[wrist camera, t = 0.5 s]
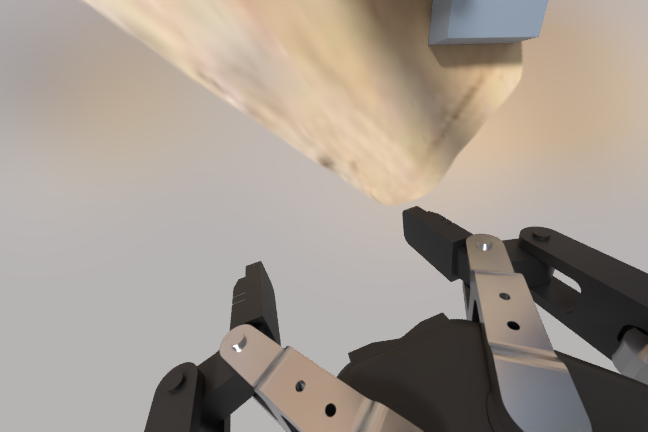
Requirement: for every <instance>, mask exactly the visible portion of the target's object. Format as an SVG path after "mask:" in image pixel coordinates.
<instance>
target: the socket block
mask: <svg viewBox="0 0 648 432" xmlns="http://www.w3.org/2000/svg"><path fill="white" fill-rule="evenodd" d="M547 3H548V0H433V2H432V12H431V22H430V31H429V41H428V45H450V44H494V43H515V42H519V41H523V40H527V39H531V38H536V37H539V33H540V30H541V26H542V22H543V18H544V14H545V11H546V7H547Z"/></svg>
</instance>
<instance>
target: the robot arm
mask: <svg viewBox="0 0 648 432" xmlns="http://www.w3.org/2000/svg"><path fill="white" fill-rule="evenodd" d="M403 228H404V236H405V239H406V241H407V242H408V244H409V245H410V246H411V247H413V248H414V249H415V250H416V251H417V252H418V253H419V254H421V255H422V256H423V257H424V258H425V259H426V260H427V261H428V262H429V263H430V264H432V265H433V266H434V267H435V268H436V269H437V270H438V271H439V272H440V273H442V274H443V275H444V276H445V277H446V278H447V279H448V280H449V281H450V282H452V281H455V280H457V279H461V280H463V293H464V301H465V309H466V317H467V320H463V319H450V320H449V319H448V318H447V317H446V316H445V315H444V313H440V314H438V315H436V316H433V317H431V318H429V319H426V320H424V321H422V322H420V323H419V324H418V325H416V326H415V327H414V328H413V329H411V330H410V331H409V332H408V333H407V334H405V335H404V336H403V337H402V338H400V339H394V340H387V341H381V342H374V343H371V344H368V345H366V346H364V347H361V348H359V349H357V350H354V351H352V352H350V353H348V355H349V358H350V361H351V362H350V363H349V364H347V365H346V366H345V367H344V368H343V369H342V371H341V372H340V373H339V374H338V376H337V377H335V376H334V375H332V374H331V373H329V372H328V371H326V370H325V369H323V368H322V367H320V366H319V365H317V364H316V363H314V362H313V361H311V360H310V359H309V358H307V357H305V356H304V355H303V354H301V353H300V352H298V351H296V350H295V349H294V348H292V347H290V346H287V347H286V348H282V347H281V343H280V334H279V327H278V318H277V310H276V302H275V295H274V290H273V286H272V284H271V281H270V279H269V277H268V275H267V273H266V271H265V268H264V266H263V264H262V262H261V261H259V262H256V263H253V264H251V265H248V266H246V277H244V278H241V279H239V280H238V281H237V283H236V285H235V287H234V290H233V301H232V302H233V303H232V304H233V305H232V313H231V323H230V332H229V333H227V335H226V336H225V337H224V338H223V340H222V342H221V344H220V349H219V351H218V352H216V354H214V355H213V356H211V357H210V358H208V359H207V360H206V361H204V362H203V363H201V364H200V365H198V366H196V365H195V364H194V363H191V362H186V363H183V364H180V365H178V366H176V367H175V368H173V369H172V370H171V371H170V372H169V373H168V374H167V375H166V376H165V377H164V378H163V379H162V380H161V382H160V383H159V385H158V387H157V389H156V391H155V394H154V398H153V402H152V405H151V409H150V412H149V416H148V420H147V423H146V427H145V431H144V432H230V414H231V413H233V412H234V411H235V410H236V409H237V408H239V407H240V406H241V405H242V404H243V403H245V402H246V401H247V400H248V399H249V398H251V397H253V398H254V399H255V400H256V401H257V402H258V403H259V404H260V405H261V406H262V407H263V408H264V409H265V410H266V411H267V412H268V413H269V414H270V415H271V416H272V417H273V418H274V419H275V420H276V421H277V422H278V423H279V424H280V425H281V427H283V429H284V430H285V431H286V432H648V274H647V273H645V272H643V271H641V270H639V269H636V268H635V267H632V266H630V265H628V264H626V263H624V262H621V261H619V260H617V259H615V258H613V257H611V256H609V255H606V254H604V253H602V252H600V251H598V250H596V249H593V248H591V247H589V246H587V245H585V244H583V243H580V242H578V241H576V240H573V239H572V238H570V237H567V236H565V235H563V234H561V233H559V232H557V231H554V230H552V229H548V228H544V227H528V228H524V229H522V230H521V232H520V235H519V239H512V240H504V241H501V240H500V239H498V238H497V237H495V236H492V235H487V234H475V235H473V234H471V233H469V232H468V231H466V230H465V229H463V228H461V227H459V226H458V225H456V224H455V223H452V222H451V221H450V220H448V219H446V218H445V217H443V216H441V215H439V214H437V213H433V212H430V211H428V212H426V211H425V210H423V209H421V208H420V207H418V206H415V207H412V208H409V209H407V210H404V211H403ZM555 269H556V270H558V271H560V272H561V273H563V274H565V275H566V276H568V277H570V278H572V279H573V280H574V281H576V282H577V283H578V284H579V286H580V288H581V293H579V292H578V291H576V290H575V289H573V288H571V287H570V286H568V285H566V284H565V283H563V282H562V281H560V280H558V279H557V278H555V277H554V276H553V273H554V270H555ZM534 302H535V303H537V304H538V305H539V306H541V307H542V308H543V309H545V310H546V311H547V312H548V313H550V314H551V315H552V316H554V317H555V318H556V319H558V320H559V321H560V322H562V323H563V324H564V325H566V326H567V327H568V328H569V329H571V330H572V331H573V332H575V333H576V334H578V335H579V336H580V337H581V338H583V339H584V340H585V341H587V342H588V343H589V344H590V345H592V346H593V347H594V348H596V349H597V350H598V351H600V352H601V353H602V354H604V355H605V356H606V357H608V358H609V359H610V360H612V361H613V364H614V366H615V367H616V368H617V370H618V371H619V372H620V373H621V374H622V375H621V374H619V373H616V372H613V371H610V370H608V369H605V368H602V367H600V366H597V365H594V364H591V363H588V362H586V361H583V360H580V359H578V358H575V357H572V356H569V355H567V354H564V353H561V352H558V351H556V350H553V347H552V345H551V343H550V340H549V338H548V335H547V333H546V330H545V328H544V325H543V323H542V320H541V318H540V315H539V313H538V311H537V308H536V306H535V303H534Z"/></svg>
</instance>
